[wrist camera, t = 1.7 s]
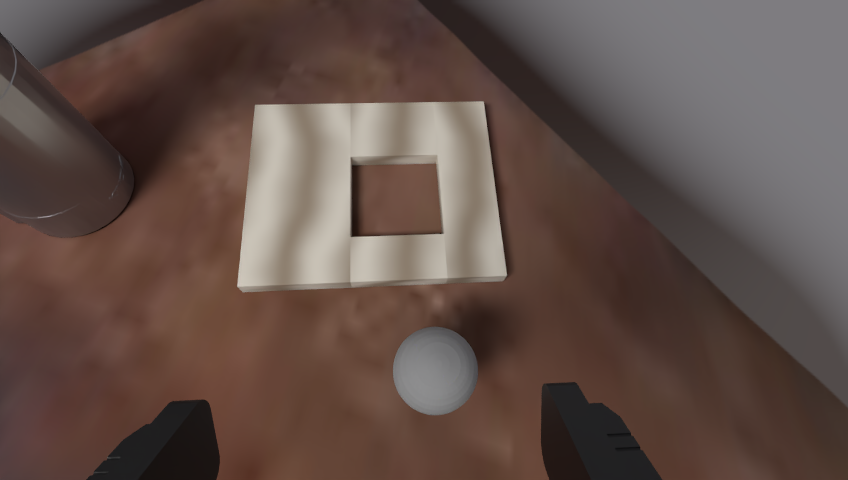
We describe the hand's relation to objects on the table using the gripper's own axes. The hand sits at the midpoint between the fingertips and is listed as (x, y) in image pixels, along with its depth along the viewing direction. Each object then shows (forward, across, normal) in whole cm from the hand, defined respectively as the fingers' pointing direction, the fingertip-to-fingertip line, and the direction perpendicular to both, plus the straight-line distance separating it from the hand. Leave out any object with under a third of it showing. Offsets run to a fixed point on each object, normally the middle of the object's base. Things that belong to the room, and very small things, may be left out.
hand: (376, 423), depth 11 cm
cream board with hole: (+33, +3, -1) cm, 33 cm away
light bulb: (+23, -1, +13) cm, 27 cm away
